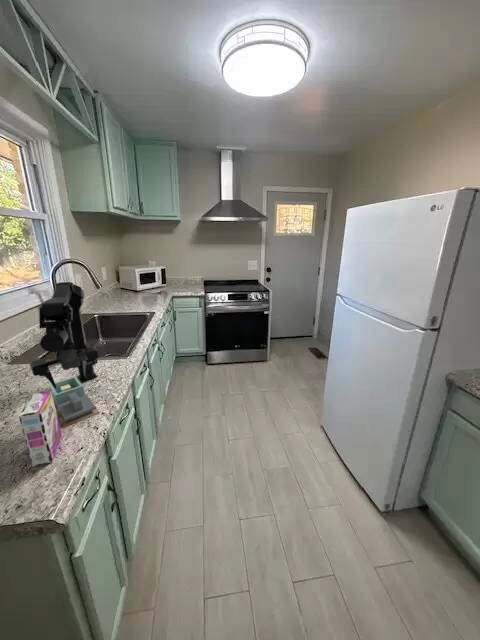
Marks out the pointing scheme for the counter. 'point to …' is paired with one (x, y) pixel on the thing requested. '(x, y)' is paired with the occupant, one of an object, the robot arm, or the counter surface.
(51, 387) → the storage box
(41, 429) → the candy bar box
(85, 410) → the lid
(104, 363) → the counter surface
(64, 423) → the walnut board
